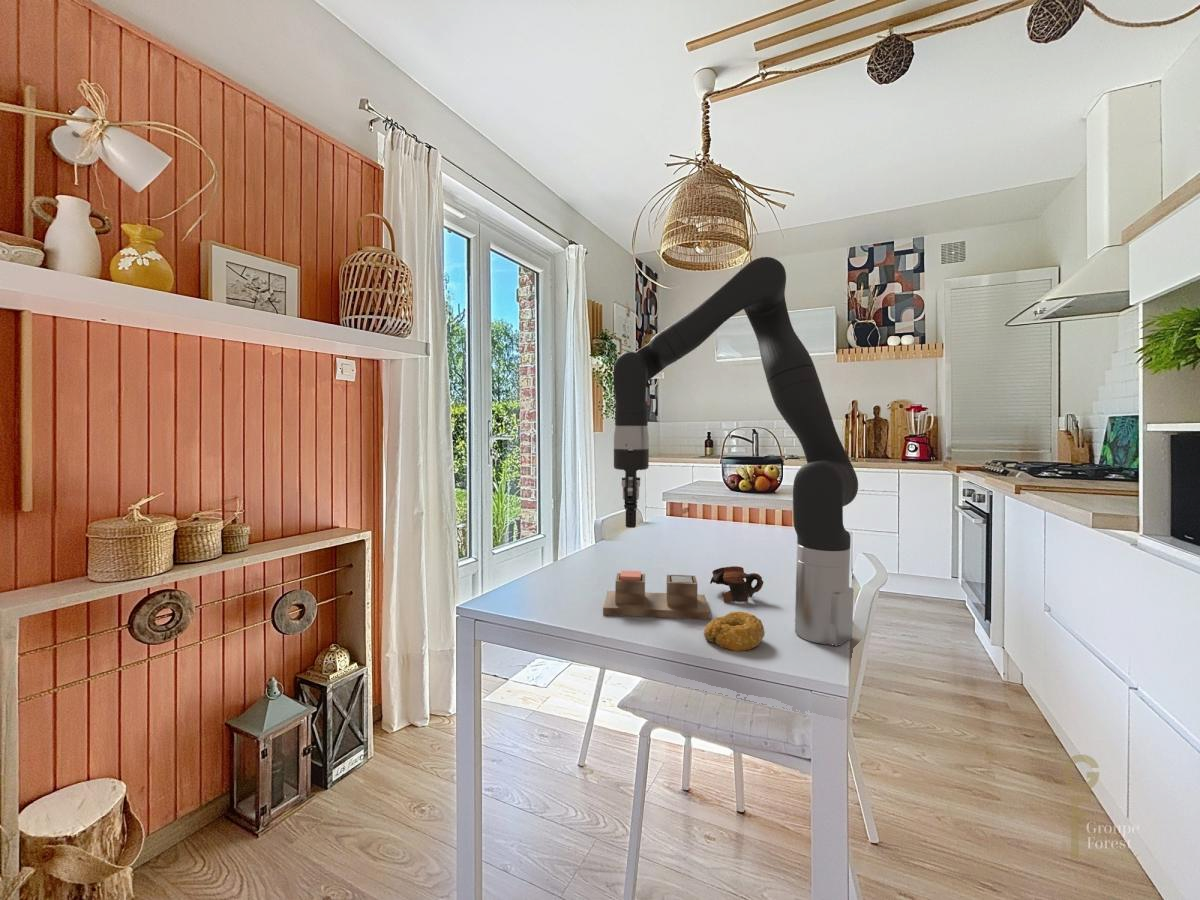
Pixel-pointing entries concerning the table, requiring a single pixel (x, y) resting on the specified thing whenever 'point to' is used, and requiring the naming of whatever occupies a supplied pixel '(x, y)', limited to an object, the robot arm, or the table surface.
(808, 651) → the table surface
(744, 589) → the pottery mug
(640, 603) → the wooden block stand
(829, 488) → the robot arm
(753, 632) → the bagel
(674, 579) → the white block
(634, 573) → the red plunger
